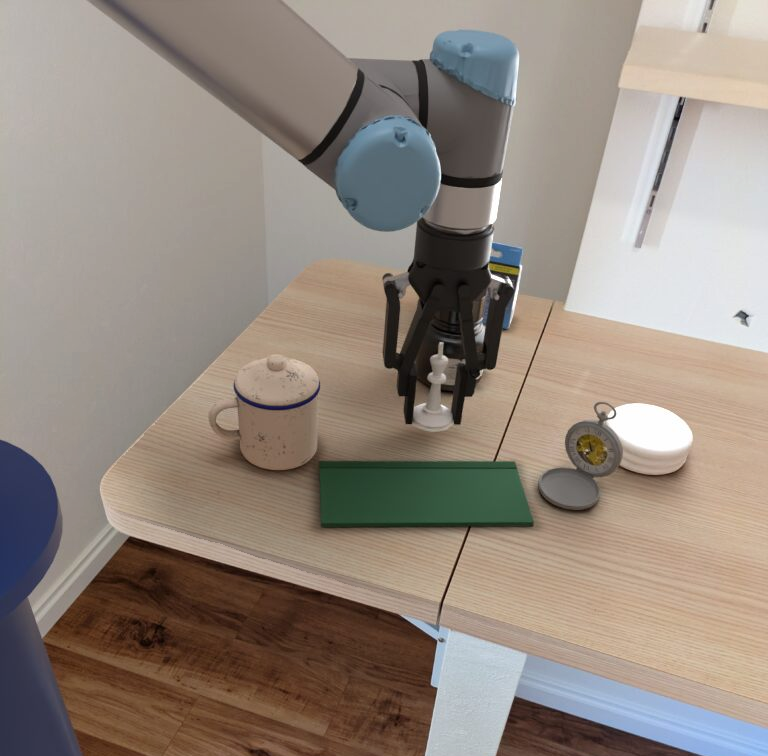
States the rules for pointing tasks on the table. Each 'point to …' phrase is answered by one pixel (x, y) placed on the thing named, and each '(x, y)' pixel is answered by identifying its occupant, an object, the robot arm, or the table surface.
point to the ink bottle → (449, 342)
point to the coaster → (650, 438)
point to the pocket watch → (583, 463)
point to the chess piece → (434, 399)
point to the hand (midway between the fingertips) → (431, 417)
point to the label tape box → (505, 267)
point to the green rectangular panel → (422, 494)
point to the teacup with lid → (274, 412)
